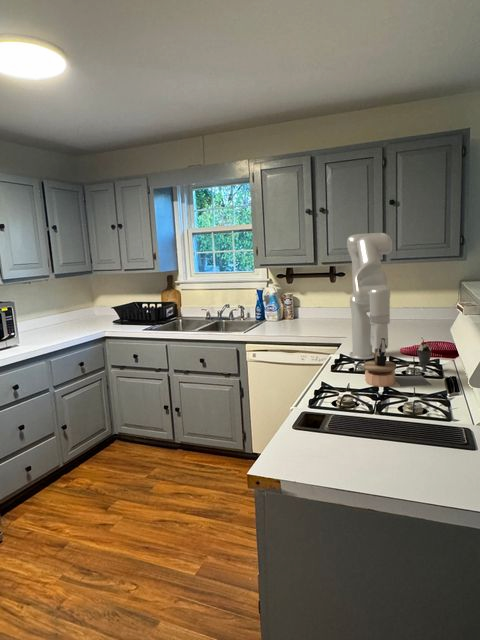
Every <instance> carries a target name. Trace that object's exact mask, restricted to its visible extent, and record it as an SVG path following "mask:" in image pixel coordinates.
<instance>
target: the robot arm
mask: <svg viewBox="0 0 480 640" xmlns="http://www.w3.org/2000/svg"><path fill="white" fill-rule="evenodd" d="M346 247H347V252H348V254H349V257H350V260H351V270H352V273H351V274H352V293H353V294H352V295H351V296H350V298H349V307H350V313H351V326H352V327H351V329H352V330H351V331H352V332H351V334H352V335H351V336H352V337H351V338H352V339H351V342H352V346H351V347H352V351H351V352H349V357H350V358H352V359H355V360H370V359H371V360H372V359H373V361H374V362H375V352H378V356H377V365H378V366H385V365H386V361H387V359H386V358H387V357H386V354H387V353H386V351H387V350H386V349H388V348H389V329H388V325H389V324H390V323H391V322H390V321H391V316H390V315H391V311H390V309H391V301H390V300H391V299H390V298H391V290H390V289H389V287H388V275H387V273H386V271H385V270H383V269H381V268H382V261H381V255H389V254H391V253H392V250H393V240H392V238H391V237H390V235H388V234H387V233H385V232H372V233H356V234H351V235H350V236H348V237H347V241H346ZM367 313H369V314H367ZM373 349H374V350H373Z"/></svg>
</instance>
